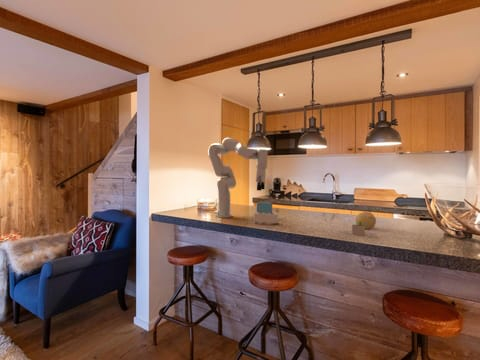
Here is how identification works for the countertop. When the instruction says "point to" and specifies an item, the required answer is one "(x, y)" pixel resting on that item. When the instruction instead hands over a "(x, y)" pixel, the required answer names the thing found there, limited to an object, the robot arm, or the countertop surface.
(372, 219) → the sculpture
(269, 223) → the post plate
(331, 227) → the countertop surface
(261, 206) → the data package
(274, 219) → the power strip
